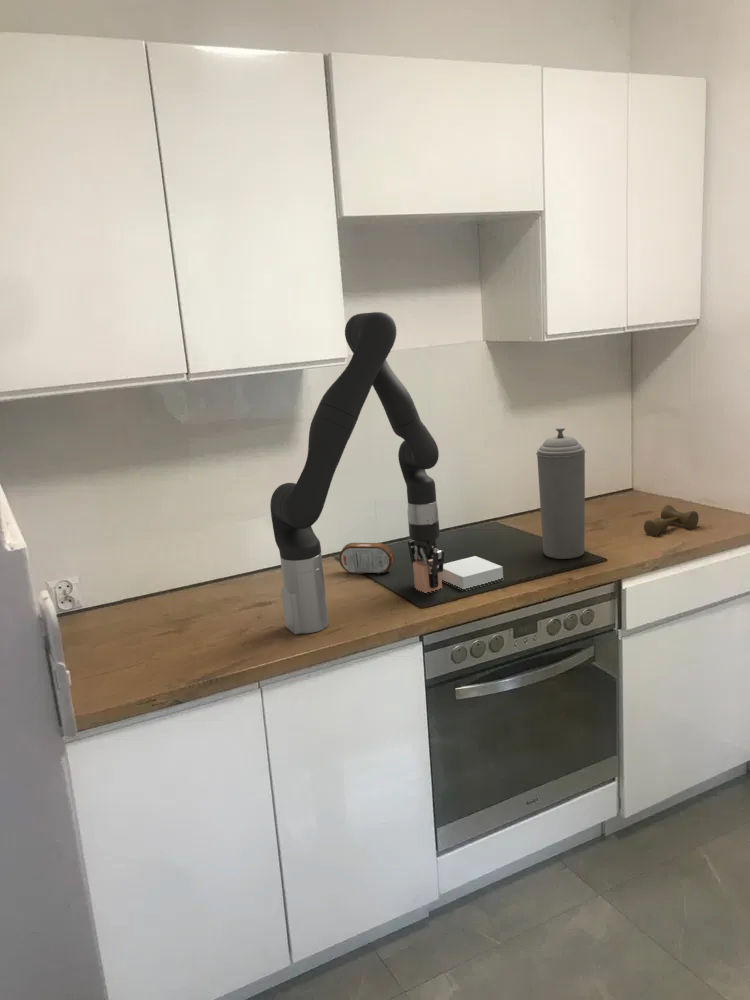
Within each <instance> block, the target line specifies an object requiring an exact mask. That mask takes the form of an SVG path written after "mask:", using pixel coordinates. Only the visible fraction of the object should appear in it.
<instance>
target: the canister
mask: <svg viewBox="0 0 750 1000" xmlns="http://www.w3.org/2000/svg"><path fill="white" fill-rule="evenodd" d="M555 430H556V432H558V433H557V435H556V436H551V437H549V438H546V439H545V441H544V442H543V443H542V445H540V446H539V448H538V449H537V452H536V453H535V454H536V456H537V457H536V458H537V472H538V475H537V476H538V489H539V491H538V492H539V505H540V507H539V508H540V517H541V518H540V521H541V535H542V549H543V554H544V555H545V557H546V556H547V557H548V558H551V559H556V560H570V559H576V558H579V557H581V556H583V555H584V554H585V535H586V534H585V531H586V528H585V527H586V526H585V524H586V523H585V521H586V519H585V518H586V515H585V514H586V511H585V510H586V509H585V507H586V499H585V497H586V496H585V495H586V494H585V493H586V490H585V489H586V487H585V486H586V485H585V484H586V483H585V482H586V475H585V474H586V470H585V469H586V459H585V458H586V456H585V455H586V454H585V453H586V450H585V447H584V446H582V444H581V443H580V442H579V441H578V440H577V439H576V438H574V437H572V436H566V435H564V434H563V432H564V431H565V430H566V428H565V427H563V426H560V427H556V428H555Z"/></svg>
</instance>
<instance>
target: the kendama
mask: <svg viewBox="0 0 750 1000" xmlns="http://www.w3.org/2000/svg"><path fill="white" fill-rule="evenodd" d="M699 519H700V517H699V514H698V512H697V511H696V510H692V511H691V510H690V511H687V512H681V511H678V510H676V509H675V507H674V506H673V505H671V504H669V505H668V504H667V505H665V506H664V507H663V508H662V510H661V511H660V517H656V518H654V520H653V519H648V520H645V522H644V523H643V529H644V533H645V534H646V535H647V536H649V537H655V538H656V537H658V536H659V534H660V533H665V532H666V531H667V530H668V527H670V526H671V525H672V524H674V523H676V524H680V525H683V527H685V529H686V530H694V529H696V527H697V526H698V524H699Z"/></svg>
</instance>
